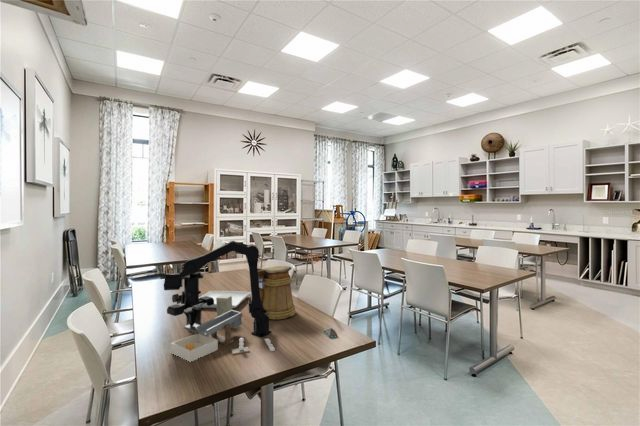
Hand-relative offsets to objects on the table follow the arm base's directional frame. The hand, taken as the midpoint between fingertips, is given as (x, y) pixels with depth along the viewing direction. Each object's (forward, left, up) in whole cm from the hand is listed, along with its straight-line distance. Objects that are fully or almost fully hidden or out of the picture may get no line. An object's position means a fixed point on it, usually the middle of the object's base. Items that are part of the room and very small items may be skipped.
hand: (191, 325), depth 133 cm
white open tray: (-10, +5, -6) cm, 13 cm away
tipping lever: (-6, -7, -3) cm, 10 cm away
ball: (-10, +7, -4) cm, 13 cm away
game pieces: (-33, -22, -7) cm, 41 cm away
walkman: (+21, -64, -6) cm, 68 cm away
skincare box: (+6, -22, -6) cm, 24 cm away
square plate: (+31, -41, -7) cm, 52 cm away
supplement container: (+13, -10, -6) cm, 18 cm away
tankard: (-7, -43, -6) cm, 44 cm away
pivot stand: (-10, -7, -6) cm, 14 cm away
